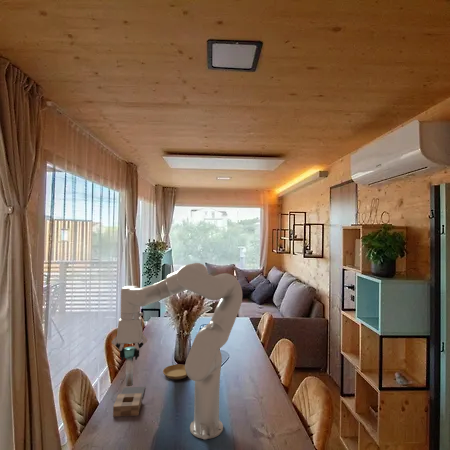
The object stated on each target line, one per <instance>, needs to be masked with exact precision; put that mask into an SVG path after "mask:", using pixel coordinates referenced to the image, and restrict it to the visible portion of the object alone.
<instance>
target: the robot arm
mask: <svg viewBox="0 0 450 450" xmlns="http://www.w3.org/2000/svg"><path fill="white" fill-rule="evenodd" d="M208 271H209V270H208V268H207V267H206V266H205V265H204V264H203V263H200V262H194V263H190V264H189V263H188V264H185V265H183V266H181V267H180V268H179V269H178V270H176V271H173V272H171V273H169V274H167V275H166V277H165V278H164V279H163V280H160V281H159V282H155V283H153V284H151V285H146V286H143V287H139V286H138V285H126V286H123V287H121V290H120V318H119V319H118V323H117V331H116V336H115V337H114V338H113V340H112V341H111V344H112V345H114V346H115V348H117V349H118V351H119V358H121V361H124V359H125V358H124V348H125V346H124V345H125V344H130V345H131V344H134V347H135V348H136V350H135V357H134V360H136V361H137V360H138V358H139V357H140V349H141V348H142V347H143V346H144V345H145V344H146V343H148V341H149V340H148V338H147V337H146V336H145V335H144V334H143V321H142V318H141V317H142V316H143V315H144V314H143V312H141V311H140V307H141V308H142V307H146V306H148V305H151V304H154V303H157V302H159V301H161V300H164V299H166V298H169V297H170V296H173V295H175V296H176V295H178V294H180V293H183V292H185V291H187V290H188V291H190V292H192V293H194V294H197V295H199V296H200V297H203V298H206V299H207V300H210V301H218V304H216V307H215V308H214V312H213V315H212V317H211V319H210V321H209V322H208V323H207V324H206V325H205V326H203V327H202V328H201V329H200V330H199V331H198V332H197V334H196V336H195V338H194V340H193V342H192V344H191V347H190V349H189V352H188V354H187V357H186V360H185V364H184V365H185V370H186V374H187V376H186V377H188V379H190V380H191V381H193V382H194V408H193V409H194V410H193V413H194V414H193V421H191V423H190V425H189V431H190V433H191V434H192V435H193V436H194V437H195V438H199V439H203V440H208V439H209V440H210V439H215V438H216V437H218V436H219V435H221V434H222V432H223V430H224V424H223V422H222V421H221V420H220V386H221V384H220V383H221V370H222V363H223V357H222V355H223V354H222V353H221V350H220V349H221V348H222V347H224V346H225V345H226V343H227V342H228V340H229V338H230V335H231V332H232V330H233V327H234V325H235V322H236V319H237V317H238V314H239V311H240V309H241V307H242V301H243V290H242V286H241V283H240V282H239V280H238V279H237V278H236V277H235V276H234V275H232V274H231V273H224V272H223V273H219V274H216V275H212V274H210V273H208Z"/></svg>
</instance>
